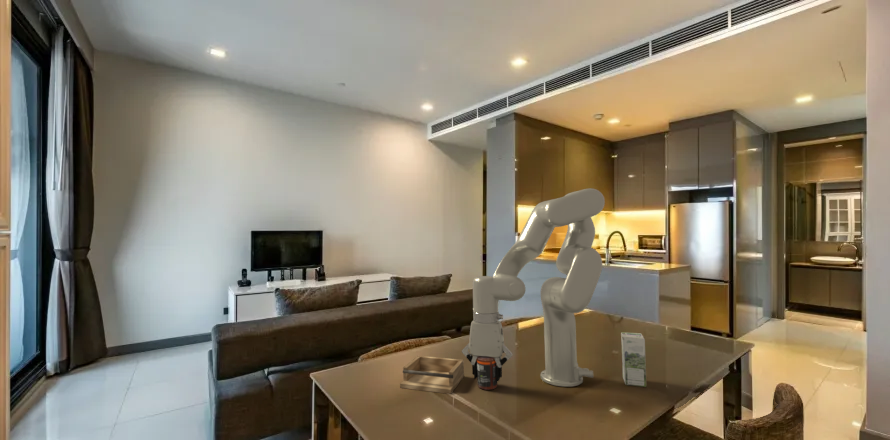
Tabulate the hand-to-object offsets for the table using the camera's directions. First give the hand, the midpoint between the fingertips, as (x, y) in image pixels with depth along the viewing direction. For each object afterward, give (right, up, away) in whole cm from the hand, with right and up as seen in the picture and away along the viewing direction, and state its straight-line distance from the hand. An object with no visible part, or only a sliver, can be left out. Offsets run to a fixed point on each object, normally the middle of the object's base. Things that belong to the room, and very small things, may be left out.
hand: (487, 377), depth 109 cm
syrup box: (+45, -2, +1) cm, 45 cm away
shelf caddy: (-16, -3, +4) cm, 17 cm away
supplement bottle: (0, -3, 0) cm, 3 cm away
